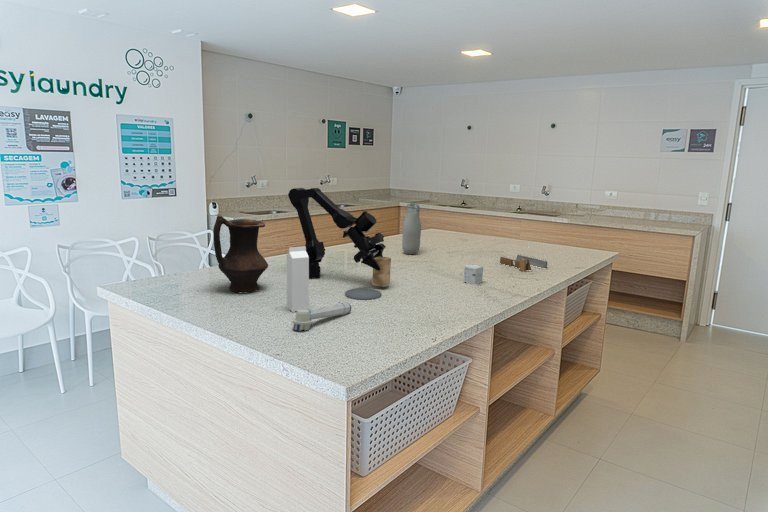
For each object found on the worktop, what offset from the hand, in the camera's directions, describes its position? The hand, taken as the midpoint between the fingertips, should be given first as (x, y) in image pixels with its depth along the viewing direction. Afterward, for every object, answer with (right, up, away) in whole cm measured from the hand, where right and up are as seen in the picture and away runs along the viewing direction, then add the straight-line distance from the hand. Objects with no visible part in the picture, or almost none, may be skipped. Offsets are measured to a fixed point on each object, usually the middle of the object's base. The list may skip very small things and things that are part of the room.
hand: (382, 268), depth 208 cm
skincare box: (+39, -7, +15) cm, 43 cm away
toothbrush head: (-19, -16, -42) cm, 49 cm away
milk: (-30, -13, -30) cm, 44 cm away
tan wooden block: (-1, -6, +2) cm, 7 cm away
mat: (-8, -10, -10) cm, 16 cm away
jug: (-55, -8, -8) cm, 56 cm away
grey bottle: (+15, +6, +74) cm, 76 cm away
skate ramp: (+66, -1, +49) cm, 82 cm away
